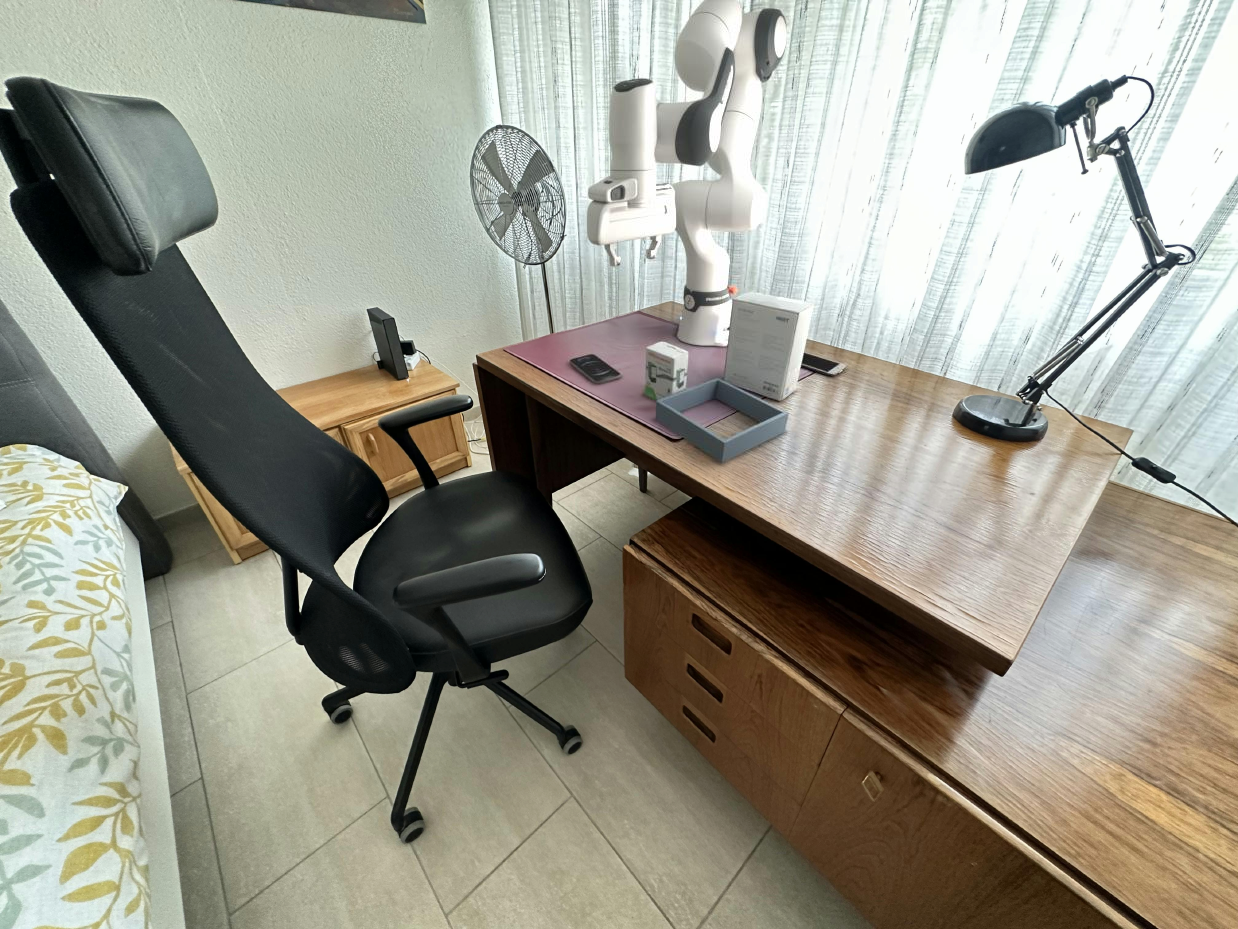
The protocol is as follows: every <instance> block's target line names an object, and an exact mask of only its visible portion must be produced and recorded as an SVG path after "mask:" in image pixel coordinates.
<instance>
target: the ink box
mask: <svg viewBox="0 0 1238 929" xmlns="http://www.w3.org/2000/svg"><path fill="white" fill-rule="evenodd" d="M689 355H690V354H689V351H687V350H685V349H683V348H681V347H678V346H675V345H673V344H670V343H668V342H665V341H663V340H662V341H658V342H656V343H654V344H651V345H649V346H647V347H645V376H644V377H645V378H644V379H645V381H644V395H645V397H648V398H651V399H653V400H654V401H657V400H660V399H662V398H665V397H668V396H670V395H673V394H676V393H678V392H681V391H684V390H686V389H687V379H688V378H687V377H688V367H689V366H688V365H689Z"/></svg>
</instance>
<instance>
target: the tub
mask: <svg viewBox="0 0 1238 929" xmlns="http://www.w3.org/2000/svg"><path fill="white" fill-rule="evenodd" d="M714 399H717V400H719V401H721V402H722V403H724V404H727V405H728V406H730V407H732V408H734V409H736V410H738V411H739V412H741V413H743V414H744V415H747V416H749V417H750V418H752V419H754V420H756V421H758V422H759V423H758V424H755V425H753V426H751V427H749V428H747V429H744V430H743V431H740V432H737V433H736V434H733V435H731V436H730V437H727V438H725V439H724V438H722V437H721V436H719V435H718V434H716V433H715V432H713V431H711V430H709V429H708V428H706V426H705V427H704V426H703V425H702V424H699V423H698V422H696V421H695V420H693V419H691V418H690V417H688V416H687V415H685V414H683V413H682V412H684V411H686V410H688V409H691V408H693V407H696V406H698V405H701V404H703V403H706V402H708V401H711V400H714ZM789 414H790V412H788V411H786V410H784V409H782V408H780V407H778V406H775V405H774V404H772V403H769V402H768V401H766V400H763V399H761V398H759V397H758V396H755V395H753V394H751V393H749V392H748V391H746V390H744V389H742V388H740V387H737V386H734V385H731V384H729V383H727V382H725V381H723V379H722V378H719V377H716V378H713V379H711V380H708V381H705V382H702V383H699V384H697V385H694V386H692V387H689V388H686V390H684V391H681V392H678V393H676V394H673V395H670V396H668V397H665V398H662V399H660V400H655V420H656V421H657V422H658V423H660V424H662V425H663V426H665V427H666V428H667V429H669V430H671V431H672V432H674V433H676V435H678V436H680V437H681V438H683V439H684V440H686V441H687V442H688V443H691V444H692V445H694V446H695V447H697V448H698V449H699V450H701V451H703V452H704V453H706V454H707V455H709V456H710V457H712V458H713V459H715V460H716V461H718V462H719V463H721V464H723V463H725V462H727V461H729V460H731V459H733V458H735V457H737V456H739V455H742V454H744V453H745V452H748V451H750V450H752V449H754V448H755V447H757V446H759V445H760V446H761V445H762V444H764V443H766V442H768V441H770V440H771V439H774V438H776V437H778V436H781V435H782V434H784V433H785V432H786V427H787V424H788V423H787V422H788V419H789Z"/></svg>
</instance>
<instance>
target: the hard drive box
mask: <svg viewBox="0 0 1238 929" xmlns="http://www.w3.org/2000/svg"><path fill="white" fill-rule="evenodd" d="M731 300H732V307H731V316H730V325H729V334H728V343H727V346H726V354H725V361H724V362H725V363H724V371H723V378H722V380H723V381H725V382H727V383H729V384H731V385H733V386H735V387H737V388H739V389H742V390H745V391H750V392H752V393H755V394H758V395H760V396H763V397H766V398H769V399H773V400H776V401H778V402H781V401H783V400H785V399H787V397H789V396H790V395H792V393H794V392H795V391H796V390H797V387H798V381H799V376H800V371H801V368H802V367H801V363H802V358H803V353H804V352H805V348H806V343H807V339H808V335H809V330H810V325H811V319H812V315H813V310H814V305H815V303H812V302H807V301H802V300H798V299H792V298H787V297H782V296H776V295H770V294H765V293H760V292H755V291H751V290H750V291H747V292H745V293H742V294H740V295H738V296H736V297H733V298H732V299H731Z"/></svg>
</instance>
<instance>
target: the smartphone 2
mask: <svg viewBox="0 0 1238 929" xmlns="http://www.w3.org/2000/svg"><path fill="white" fill-rule="evenodd" d="M800 368H804V369H808V370H811V371H813V372H817V373H820V374H822V375H824V376H825V375H826V376H829V377H835V376H837V375H839V374H840V373H841V372H843V371H844V370H846V368H847V365H846V364H845V363H841V362H838V361H835V360H832V359H828V358H825V357H822V356H820V355H816V354H812V353H810V352H805V351H804V353H803V358H802V363H801V367H800Z"/></svg>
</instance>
